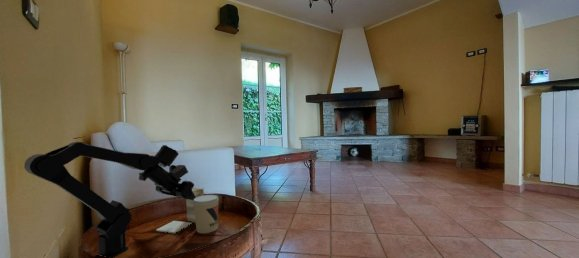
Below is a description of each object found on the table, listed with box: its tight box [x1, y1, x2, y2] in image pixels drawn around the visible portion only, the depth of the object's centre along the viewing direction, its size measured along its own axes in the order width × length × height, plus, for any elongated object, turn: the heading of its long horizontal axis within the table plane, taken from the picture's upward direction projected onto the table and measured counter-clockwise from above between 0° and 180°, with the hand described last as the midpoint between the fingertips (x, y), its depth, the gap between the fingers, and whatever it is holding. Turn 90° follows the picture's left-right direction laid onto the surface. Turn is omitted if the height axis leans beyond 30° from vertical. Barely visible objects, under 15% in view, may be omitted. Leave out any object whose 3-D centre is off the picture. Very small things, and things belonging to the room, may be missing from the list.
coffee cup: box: [193, 194, 220, 234], centre depth 96 cm, size 9×9×12 cm
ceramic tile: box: [155, 220, 193, 234], centre depth 99 cm, size 9×9×1 cm
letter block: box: [185, 186, 205, 224], centre depth 106 cm, size 5×5×13 cm
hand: (188, 197), depth 104 cm, fingers open, 9 cm apart
